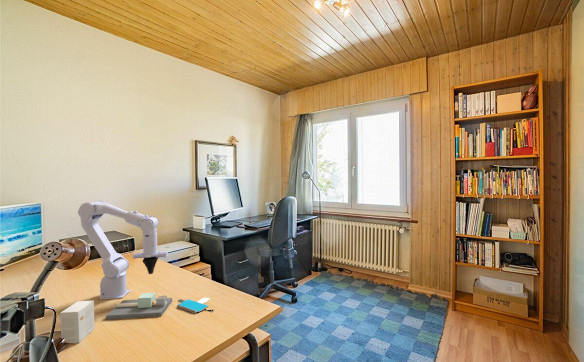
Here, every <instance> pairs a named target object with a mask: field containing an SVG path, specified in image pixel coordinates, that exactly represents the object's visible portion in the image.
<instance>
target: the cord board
mask: <svg viewBox="0 0 584 362" xmlns="http://www.w3.org/2000/svg"><path fill="white" fill-rule="evenodd" d="M156 299H157V298H156ZM156 299H155V300H156ZM172 302H173V297H167V304H166V305H165V306H164V307H157V305H155V306H152V307H147V308H138V306H137V307H119V308H115V307H114V308H112V309H111V310H110V311H109V312H108V313H107V314H105V320H119V319H120V320H121V319H134V318H136V319H137V318H152V317H153V318H154V317H155V318H156V317H162V316H163V315H164V313H165V312H166V310H167V309H168V308H169V306H170V305H171V304H172ZM123 303H138V299H127V300H126V299H124V300H122V301H121V302H119V303H118V304H123Z"/></svg>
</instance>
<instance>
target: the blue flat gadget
mask: <svg viewBox="0 0 584 362" xmlns="http://www.w3.org/2000/svg"><path fill="white" fill-rule="evenodd" d="M210 299H211V298H207V297H203V298H201V299H199V300H197V301H195V300H192V299H189V298H188V299H186V300H184V299H182V298H180V299H178V300H177V302H180V303H178V304H177V305H176V307H177V309H178V308H179V309H180V308H181V309H180V310H183V309H184V311H186V310H187V311H186V312H189V311H190V312H189V313H193V314H195V315H196V314H197V312H199V313H200V311H201V312H203V311H202V310H203V309H205V308H206V307H207V308H209V305H208V304H206V303H207V302H209V301H211V300H210ZM208 300H209V301H208ZM205 302H206V303H205ZM203 303H204V304H203ZM205 311H206V312H208V311H207V310H205ZM209 312H211V313H212V312H213V311H212V310H211V311H209Z"/></svg>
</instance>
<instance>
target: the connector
mask: <svg viewBox="0 0 584 362" xmlns="http://www.w3.org/2000/svg"><path fill="white" fill-rule="evenodd" d="M167 298H168V295H159V296H158V297H156V305H157V307H164V306H165V302H166V304H167Z"/></svg>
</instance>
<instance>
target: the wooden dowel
mask: <svg viewBox="0 0 584 362" xmlns="http://www.w3.org/2000/svg"><path fill="white" fill-rule="evenodd" d="M114 305H115V307H114V308H119V307H137V306H138V303H123V304H119V303H116V304H114ZM155 305H156V301H153V302H152V306H155ZM165 305H166V302H165Z"/></svg>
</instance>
